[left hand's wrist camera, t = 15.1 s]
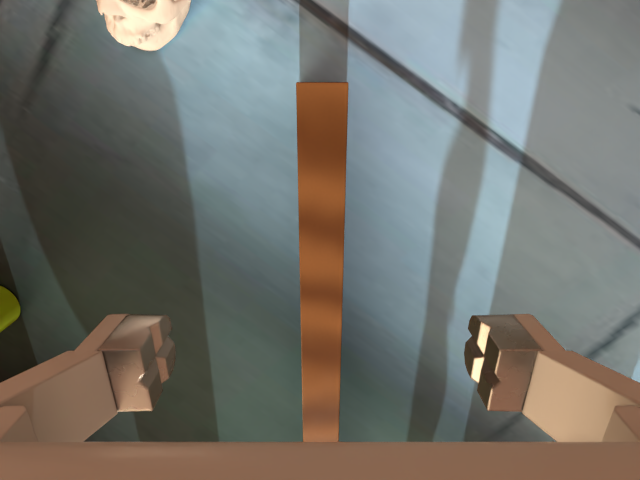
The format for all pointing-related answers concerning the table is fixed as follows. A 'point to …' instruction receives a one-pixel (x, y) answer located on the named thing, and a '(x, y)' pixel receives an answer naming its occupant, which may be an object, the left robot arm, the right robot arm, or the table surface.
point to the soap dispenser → (8, 308)
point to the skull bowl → (144, 21)
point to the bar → (321, 250)
